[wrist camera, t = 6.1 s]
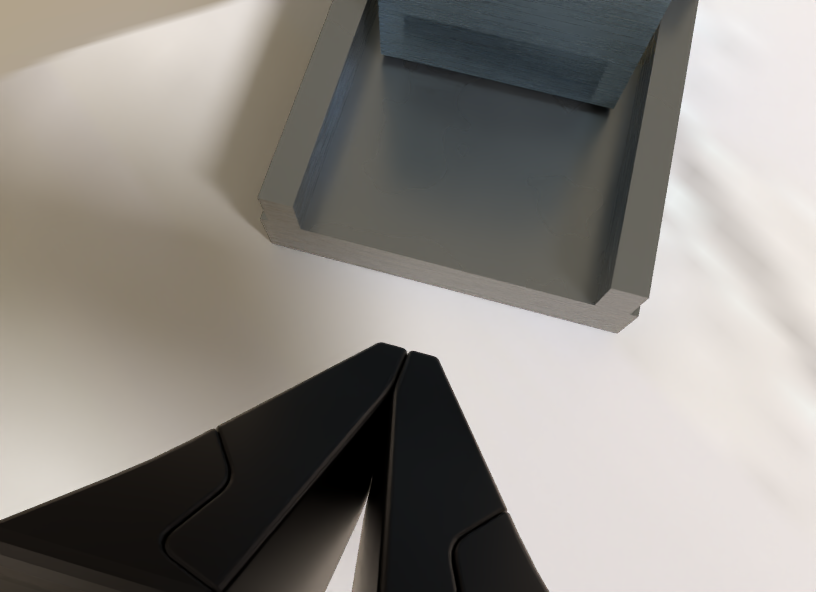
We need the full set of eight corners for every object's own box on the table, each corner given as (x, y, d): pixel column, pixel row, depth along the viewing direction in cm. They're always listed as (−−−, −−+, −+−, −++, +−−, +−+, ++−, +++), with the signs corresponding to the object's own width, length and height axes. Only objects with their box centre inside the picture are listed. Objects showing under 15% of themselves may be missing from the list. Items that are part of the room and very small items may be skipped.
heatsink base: (617, 333, 16) (713, 256, 11) (272, 243, 17) (218, 133, 12) (679, -11, 19) (773, -188, 14) (388, -75, 20) (384, -266, 15)
